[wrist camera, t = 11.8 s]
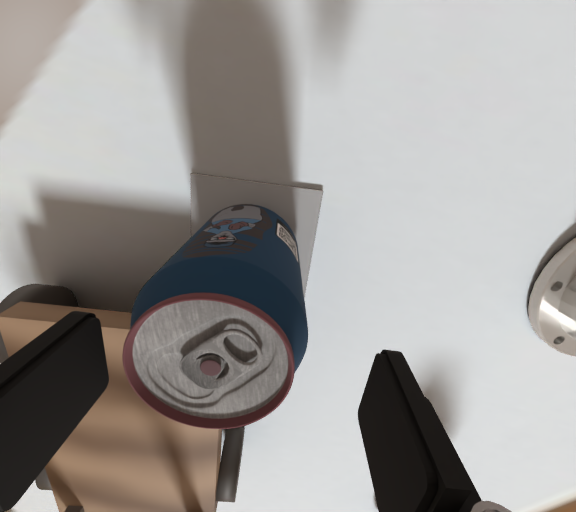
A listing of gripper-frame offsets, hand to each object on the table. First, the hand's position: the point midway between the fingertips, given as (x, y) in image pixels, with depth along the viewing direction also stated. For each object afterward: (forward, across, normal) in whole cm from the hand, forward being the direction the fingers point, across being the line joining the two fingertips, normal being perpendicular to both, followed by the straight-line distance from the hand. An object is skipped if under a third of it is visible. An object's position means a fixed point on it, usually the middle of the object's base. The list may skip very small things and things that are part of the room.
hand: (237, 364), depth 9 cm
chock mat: (+12, +1, 0) cm, 12 cm away
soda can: (+12, +1, 0) cm, 12 cm away
